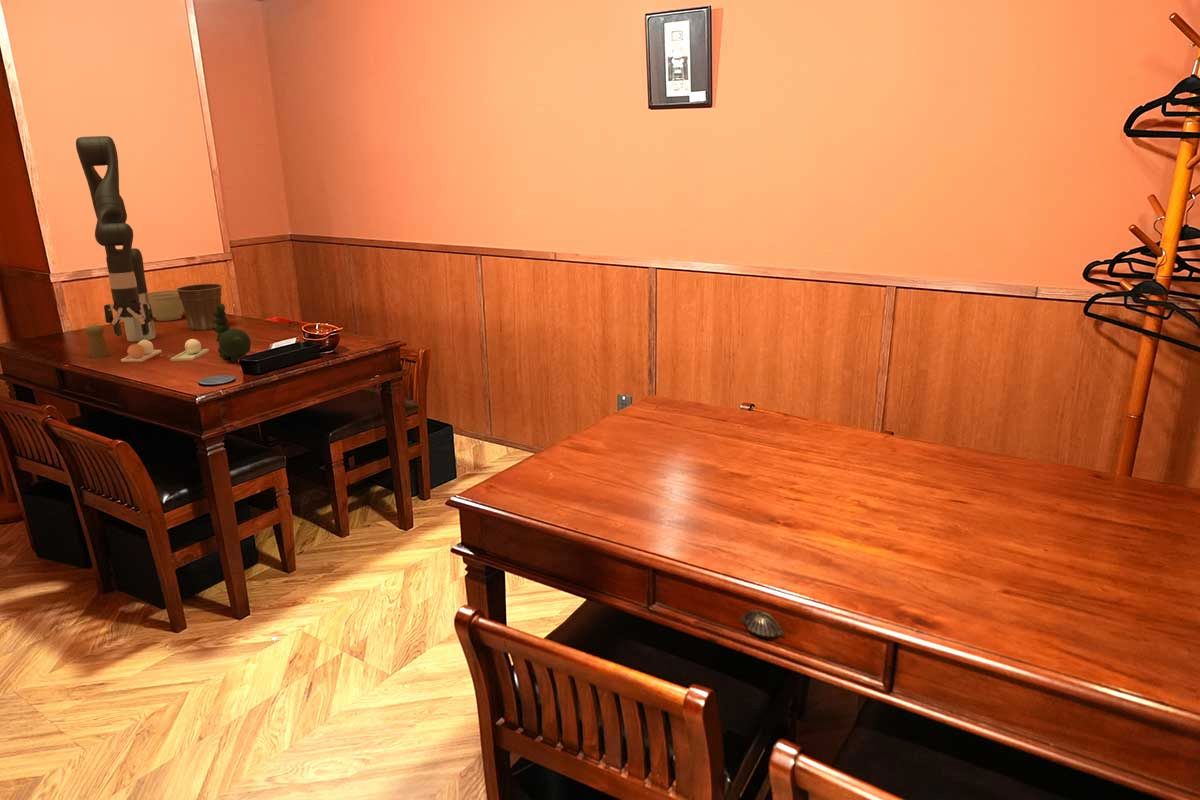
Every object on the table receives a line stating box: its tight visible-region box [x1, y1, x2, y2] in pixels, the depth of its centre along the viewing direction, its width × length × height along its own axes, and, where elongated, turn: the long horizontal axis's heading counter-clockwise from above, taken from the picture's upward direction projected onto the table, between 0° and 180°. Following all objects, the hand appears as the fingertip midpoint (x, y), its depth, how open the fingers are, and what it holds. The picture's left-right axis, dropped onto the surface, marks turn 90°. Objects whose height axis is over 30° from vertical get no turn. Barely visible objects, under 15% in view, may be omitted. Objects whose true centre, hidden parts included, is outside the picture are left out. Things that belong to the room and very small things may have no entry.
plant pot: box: [175, 283, 223, 331], centre depth 317 cm, size 16×16×16 cm
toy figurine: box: [213, 303, 252, 364], centre depth 267 cm, size 9×19×25 cm
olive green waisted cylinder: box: [85, 324, 111, 359], centre depth 272 cm, size 6×6×11 cm
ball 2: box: [137, 340, 154, 355], centre depth 274 cm, size 5×5×5 cm
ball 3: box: [184, 338, 202, 354], centre depth 275 cm, size 5×5×5 cm
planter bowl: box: [148, 289, 185, 322], centre depth 336 cm, size 16×16×11 cm
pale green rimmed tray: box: [169, 348, 210, 362], centre depth 272 cm, size 13×7×1 cm, turn 2°
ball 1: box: [126, 343, 145, 359], centre depth 268 cm, size 5×5×5 cm
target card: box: [159, 353, 175, 358], centre depth 272 cm, size 8×6×1 cm
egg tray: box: [120, 349, 162, 363], centre depth 272 cm, size 13×7×1 cm, turn 2°
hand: (132, 335), depth 266 cm, fingers open, 8 cm apart
